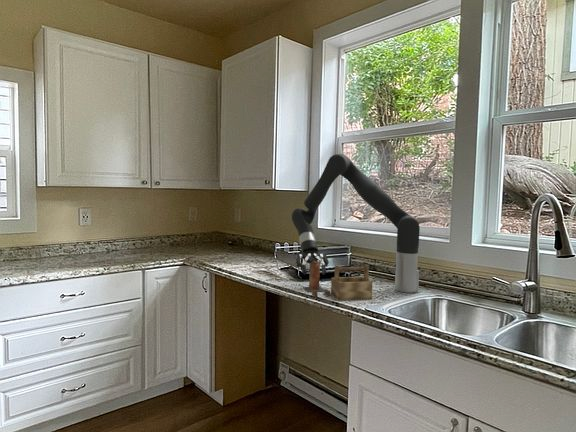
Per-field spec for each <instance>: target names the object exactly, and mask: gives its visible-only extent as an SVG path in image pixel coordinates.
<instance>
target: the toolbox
mask: <svg viewBox="0 0 576 432" xmlns="http://www.w3.org/2000/svg"><path fill="white" fill-rule="evenodd" d="M359 271H360V272H361V271H363V276H344V277H343V276H342V277H341V276H340V272H359ZM369 271H370V265H369V264H364V266H340V265H338V264H335V265H334V276H333V277H330V280H331V281H330V295H332V296H333V297H335V298H336V299H337V300H338V301H353V300H354V301H355V300H357V301H358V300H372V299H373V281H372V280H369V278H370V277H369V276H370V273H369Z"/></svg>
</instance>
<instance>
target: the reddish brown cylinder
mask: <svg viewBox="0 0 576 432" xmlns="http://www.w3.org/2000/svg"><path fill="white" fill-rule="evenodd" d="M318 262H319V261H318ZM318 262H317V261H312V263H310V264H309V279H308V281H309V283H308V285H309V286H308V287H309V288H310V289H311V290H319V286H320V277H321V276H320V275H321V273H320V272H321V271H320V270H321V266H320V264H318Z"/></svg>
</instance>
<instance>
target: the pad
mask: <svg viewBox="0 0 576 432" xmlns="http://www.w3.org/2000/svg"><path fill="white" fill-rule="evenodd" d="M302 289H304V291H306V293H312V290H311V289H310V288H309V286H302ZM316 291H317V292H318V293H323V292H325V289H324V288H323V287H321V286H320V285H319V290H316Z"/></svg>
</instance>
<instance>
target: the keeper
mask: <svg viewBox="0 0 576 432" xmlns="http://www.w3.org/2000/svg"><path fill="white" fill-rule="evenodd" d="M324 290H325V292H324V293H323V294H324V295H325V296H326V297H328V298H329V297H331V290H329V289H327V288H326V289H324ZM318 293H319V292H317V291H316V290H312V292H311V295H312V296H313V297H314V298H318Z"/></svg>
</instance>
